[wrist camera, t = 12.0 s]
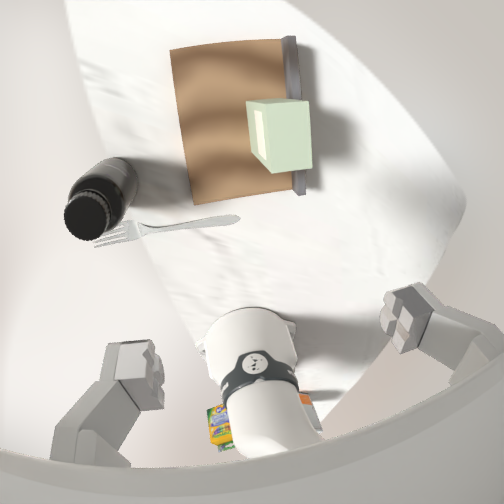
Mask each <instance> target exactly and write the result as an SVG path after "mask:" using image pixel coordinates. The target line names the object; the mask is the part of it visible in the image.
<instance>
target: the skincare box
mask: <svg viewBox="0 0 504 504" xmlns="http://www.w3.org/2000/svg"><path fill="white" fill-rule="evenodd" d="M298 394H299V397H300V400H301V402H302V405H303V407H304V409H305V412H306V414H307V416H308V418H309V420H310V422H311V424H312V425H313V427H314V429H315V430H316V431H317V432H318V434H320V433H321V432H323V430H322V427H321V424H320V422H319V419H318V416H317V414H316V411H315V408H314V406H313V403H312V401H311V398H310V395H309V394H303V393H298Z"/></svg>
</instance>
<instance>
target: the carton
mask: <svg viewBox="0 0 504 504" xmlns="http://www.w3.org/2000/svg"><path fill="white" fill-rule="evenodd" d="M246 109H247V118H248V127H249V136H250V145H251V152H252V153H253V154H254V155H255V156H256V157H257V158H258V159H259V161H260V162H261V163H262V164H263V165H264V166H265V167H266V168H267V169H268V170H269V171H270V172H271V173H279V172H287V171H294V170H302V169H311V168H312V146H311V127H310V111H309V101H303V100H294V99H284V98H271V99H260V100H250V101H246Z"/></svg>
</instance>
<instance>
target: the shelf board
mask: <svg viewBox="0 0 504 504" xmlns="http://www.w3.org/2000/svg"><path fill="white" fill-rule="evenodd" d="M170 58H171V66H172V73H173V81H174V88H175V95H176V102H177V109H178V115H179V122H180V128H181V135H182V141H183V147H184V153H185V158H186V164H187V170H188V175H189V181H190V186H191V192H192V197H193V202H194V205H199V204H205V203H210V202H216V201H221V200H227V199H233V198H239V197H245V196H251V195H258V194H264V193H271V192H277V191H284V190H291V189H292V190H293V191H294V192H295V193H296V194H297V195H298V196H301V195H306V173H305V169H302V170H294V171H287V172H279V173H271V172H270V171H269V170H268V169H267V168H266V167H265V166H264V165H263V164H262V163H261V162H260V161H259V159H258V158H257V157H256V156H255V155H254V154H253V153H252V152H251V145H250V136H249V127H248V118H247V109H246V101H250V100H260V99H271V98H284V99H294V100H302V98H301V85H300V73H299V62H298V52H297V45H296V36H286V37H284V38H282V39H262V40H244V41H231V42H221V43H212V44H204V45H197V46H191V47H184V48H179V49H173V50H170Z"/></svg>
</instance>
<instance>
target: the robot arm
mask: <svg viewBox="0 0 504 504" xmlns="http://www.w3.org/2000/svg"><path fill="white" fill-rule="evenodd" d="M383 301H384V303H385V306H384V307H383V308H382V309H381V313H380V324H381V326H382V329H383V330H384V332H385V333H386V334H387V335H390V336H392V343H393V345H394V346H395V348H396V349H397V351H398V352H399V353H400V354H402V353H405V352H408V351H410V350H413V349H416V348H418V349H419V350H421V351H423V352H424V353H426V354H427V355H429V356H431V357H433V358H434V359H436V360H437V361H439V362H441V363H442V364H444V365H446V366H447V367H449V368H450V369H452V370H454V373H453V375H452V376H451V378H450V380H449V384H450V385H451V387H449V388H447V389H445V390H443V391H441V392H440V393H438V394H436V395H434V396H432V397H430V398H428V399H426V400H425V401H423V402H420V403H418V404H416V405H414V406H412V407H410V408H408V409H406V410H404V411H402V412H399V413H397V414H395V415H393V416H390V417H388V418H386V419H383V420H381V421H378V422H376V423H373V424H371V425H368V426H366V427H363V428H360V429H358V430H355V431H352V432H349V433H347V434H344V435H340V436H337V437H334V438H331V439H328V440H325V439H323V438H322V437H321V436H320V435H319V434H318V432H317V431H316V430H315V429H314V427H313V425H312V424H311V422H310V420H309V418H308V416H307V414H306V412H305V409H304V407H303V405H302V402H301V400H300V397H299V394H298V392H299V387H298V381H297V378H296V376H295V374H294V372H295V365H296V364H297V360H298V358H297V354H296V351H295V348H294V345H293V340H294V337H295V333H296V325H295V323H293V322H291V321H287V320H283V319H281V318H280V317H279V316H278V315H276V314H275V313H273V312H271V311H269V310H266V309H261V308H244V309H239V310H235V311H232V312H230V313H227V314H225V315H224V316H222V317H220V318H219V319H218V320H216V321H215V322H214V323H213V325H212V326H211V327H210V329H209V331H208V332H207V334H206V335H205V336H204V337H202V338H201V339H199V340H198V341H197V342H196V344H195V346H196V349H197V351H198V352H199V354H200V355H201V357H202V358H203V359H204V361H205V362H206V364H207V365H208V369H209V375H210V378H212V379H213V380H214V381H215V382H216V384H217V385H219V386H220V387H221V397H222V401H223V404H224V407H225V408H226V409H227V411H228V416H229V422H230V428H231V433H232V438H233V443H234V445H235V447H236V449H237V450H238V451H239V452H240V453H241V454H242V455H243V456H245V457H246V458H249V459H244V460H238V461H231V462H224V463H217V464H207V465H197V466H185V467H167V468H166V467H165V468H131V463H130V462H129V461H128V460H127V459H126V458H125V457H123V456H122V455H121V454H120V453H119V452H117V451H118V450H119V448H120V446H121V445H122V443H123V441H124V440H125V438H126V436H127V434H128V433H129V431H130V430H131V428H132V427H133V425H134V423H135V421H136V420H137V418H138V417H139V415H140V413H141V412H140V411H149V410H158V409H164V391H163V390H162V388H161V386H162V384H163V383H164V369H163V364H162V361H161V359H160V357H159V355H157V354H155V346H154V344H153V342H152V340H150V339H148V340H138V341H126V342H117V343H109V344H108V345H107V346H106V350H105V355H104V359H103V364H102V369H101V374H100V379H99V381H96V382H95V383H94V384H93V385H92V386H91V387H90V388H89V389H88V390H87V391H86V392H85V393H84V395H83V396H82V397H81V398H80V399H79V400H78V401H77V403H75V405H74V406H73V407H72V408H71V409H70V410H69V412H68V413H67V414H66V415H65V416H64V417H63V418H62V419H61V420H60V422H59V423H58V424H57V425H56V426H55V431H54V436H53V442H52V448H51V454H50V460H48V459H43V458H38V457H33V456H29V455H24V454H20V453H16V452H12V451H8V450H5V449H1V448H0V504H504V334H503V333H502V332H501V331H500V329H499V328H498V327H497V326H496V325H495V324H492V323H490V322H487V321H485V320H482V319H480V318H477V317H475V316H472V315H470V314H467V313H465V312H462V311H460V310H457V309H455V308H452V307H450V306H446V307H445V306H444V305H443V304H442V303H441V302H440V301H439V300H438V299H437V298H436V297H435V296H434V295H433V294H432V293H431V292H430V290H429V289H427V288H426V286H425V285H424V284H423V283H420V282H417V283H414V284H411V285H408V286H405V287H401V288H398V289H394V290H391V291H388V292H386V294H385V295H384V300H383Z"/></svg>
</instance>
